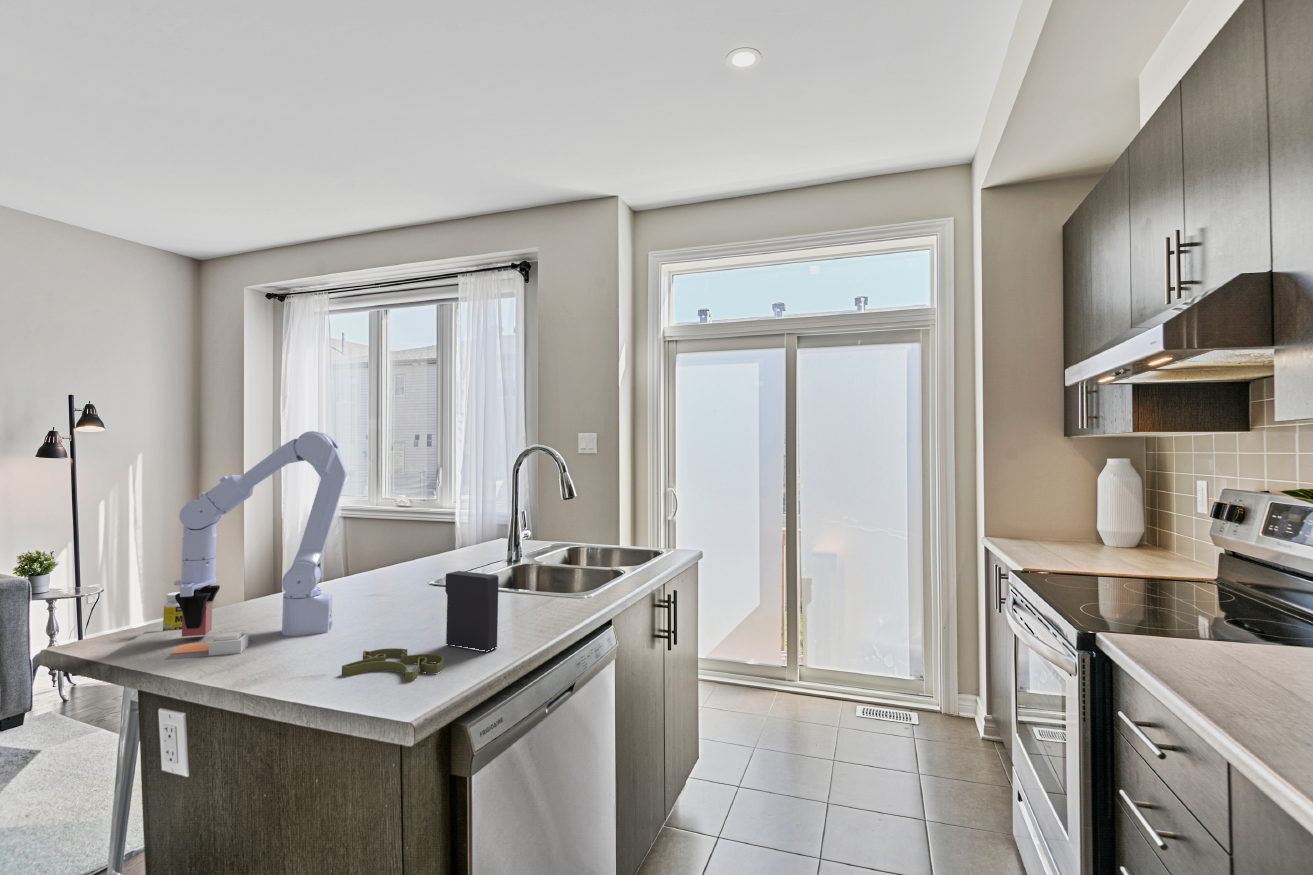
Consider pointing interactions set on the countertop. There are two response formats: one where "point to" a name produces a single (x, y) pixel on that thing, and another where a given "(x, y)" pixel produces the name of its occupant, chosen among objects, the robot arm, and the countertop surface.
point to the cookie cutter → (394, 663)
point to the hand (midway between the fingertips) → (197, 625)
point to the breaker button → (229, 635)
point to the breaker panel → (211, 648)
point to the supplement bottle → (172, 614)
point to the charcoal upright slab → (472, 610)
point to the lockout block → (205, 624)
